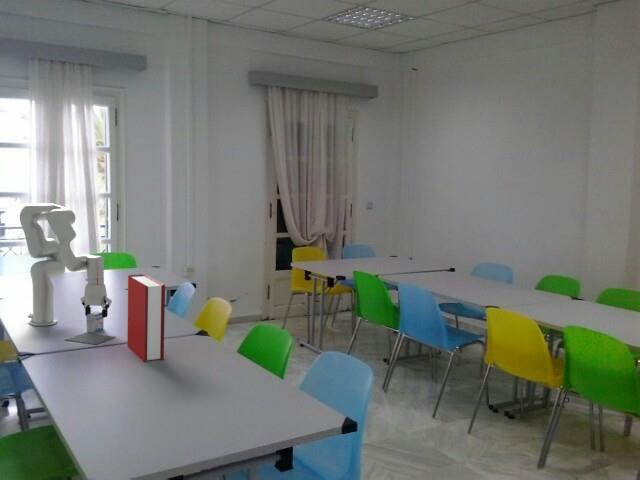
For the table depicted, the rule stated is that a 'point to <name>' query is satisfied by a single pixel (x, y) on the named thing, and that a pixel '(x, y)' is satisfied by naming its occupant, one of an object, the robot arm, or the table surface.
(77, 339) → the charcoal rubber mat
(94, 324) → the medicine box
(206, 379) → the table surface
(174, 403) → the table surface
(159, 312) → the book
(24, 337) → the table surface
